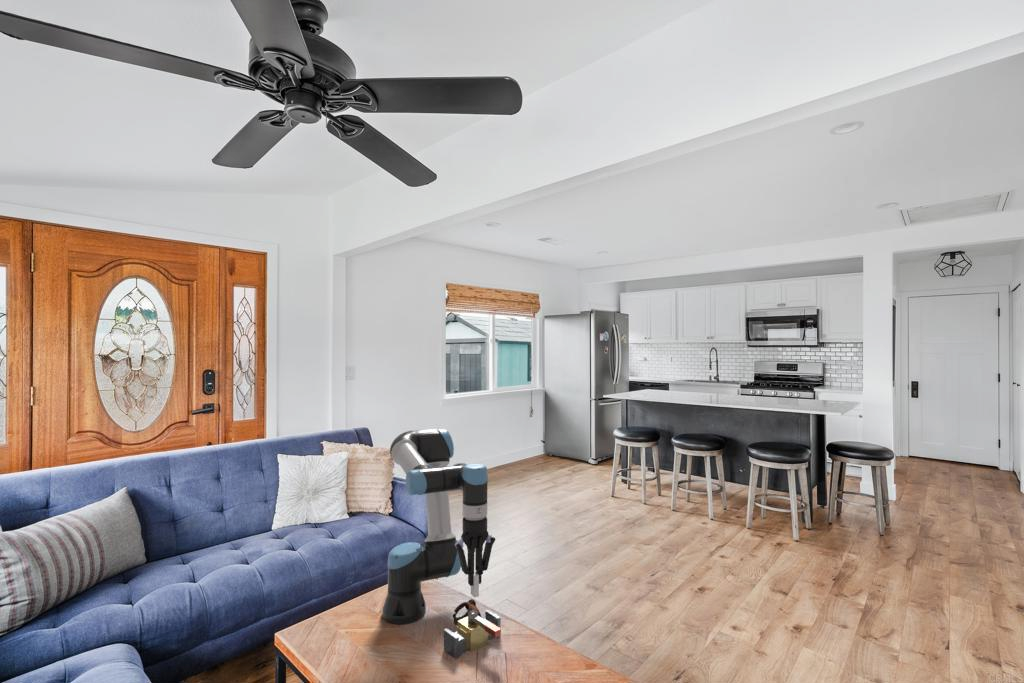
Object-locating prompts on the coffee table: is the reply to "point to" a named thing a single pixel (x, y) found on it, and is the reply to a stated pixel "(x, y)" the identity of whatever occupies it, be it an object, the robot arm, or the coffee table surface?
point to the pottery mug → (469, 606)
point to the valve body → (469, 636)
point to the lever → (483, 623)
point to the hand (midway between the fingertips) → (474, 594)
